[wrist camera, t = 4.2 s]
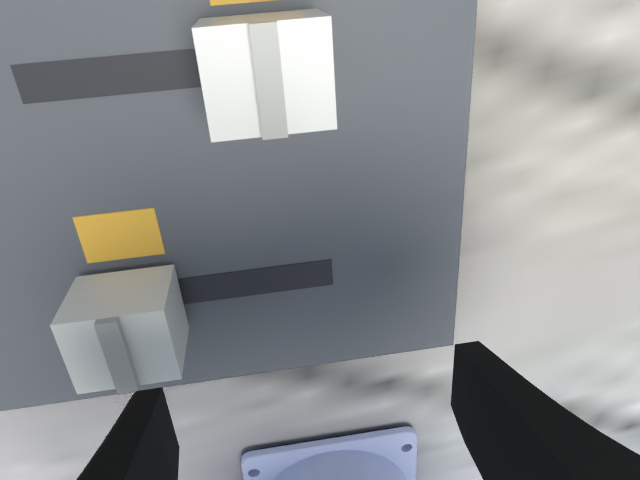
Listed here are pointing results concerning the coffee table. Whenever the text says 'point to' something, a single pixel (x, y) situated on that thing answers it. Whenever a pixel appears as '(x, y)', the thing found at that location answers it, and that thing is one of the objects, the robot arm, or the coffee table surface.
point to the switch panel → (231, 186)
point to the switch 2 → (266, 74)
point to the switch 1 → (122, 330)
